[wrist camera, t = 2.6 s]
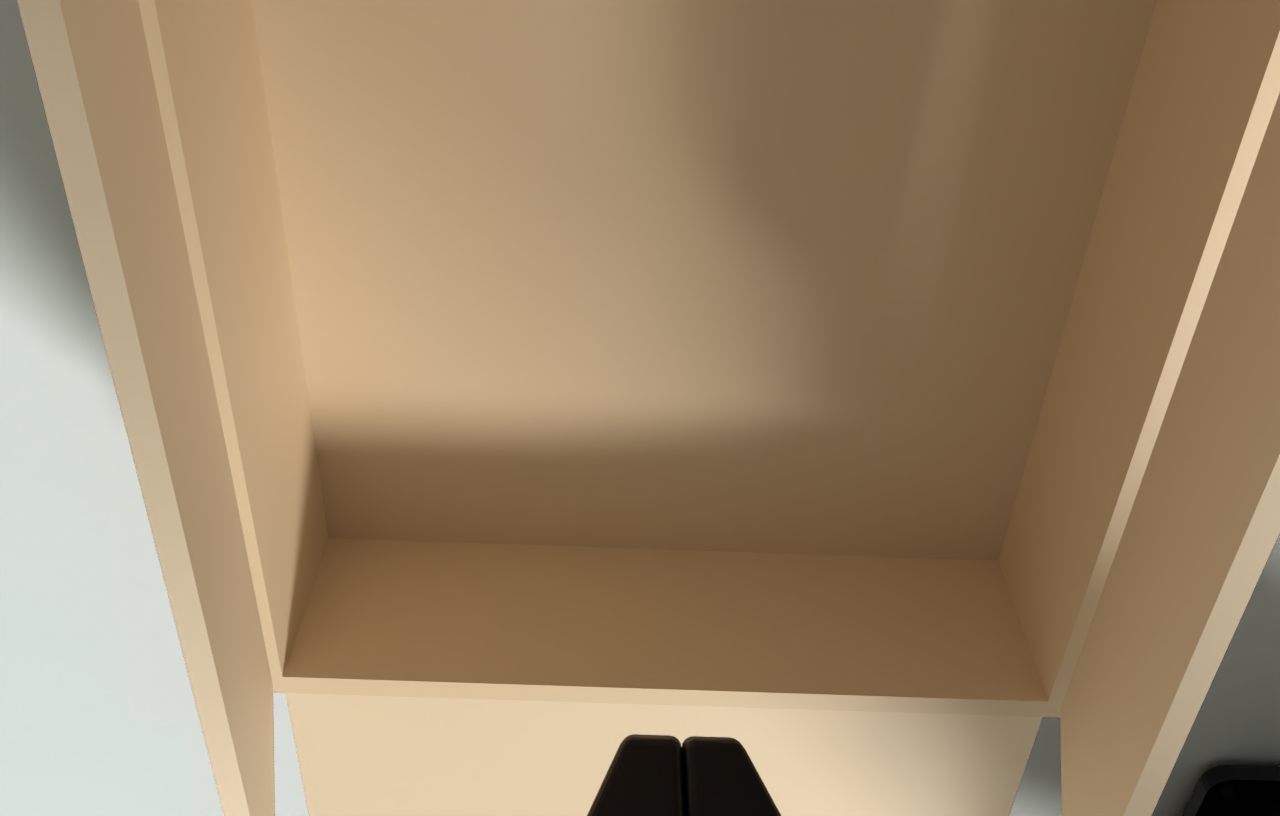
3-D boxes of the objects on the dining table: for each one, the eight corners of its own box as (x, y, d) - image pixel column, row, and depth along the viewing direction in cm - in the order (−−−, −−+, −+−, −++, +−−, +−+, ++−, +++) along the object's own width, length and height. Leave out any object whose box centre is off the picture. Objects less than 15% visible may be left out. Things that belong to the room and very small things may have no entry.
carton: (1495, -1118, 12) (1826, -1390, 8) (970, 697, 27) (1015, 856, 23) (49, -1204, 11) (-193, -1518, 8) (336, 676, 26) (291, 834, 23)
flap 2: (1543, -543, 11) (1798, -608, 7) (1078, 714, 20) (1087, 958, 17) (1505, -544, 11) (1741, -611, 7) (1059, 710, 20) (1064, 951, 17)
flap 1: (16, -619, 10) (-106, -707, 7) (272, 685, 20) (276, 929, 16) (-21, -622, 10) (-165, -715, 7) (254, 688, 20) (254, 933, 16)
